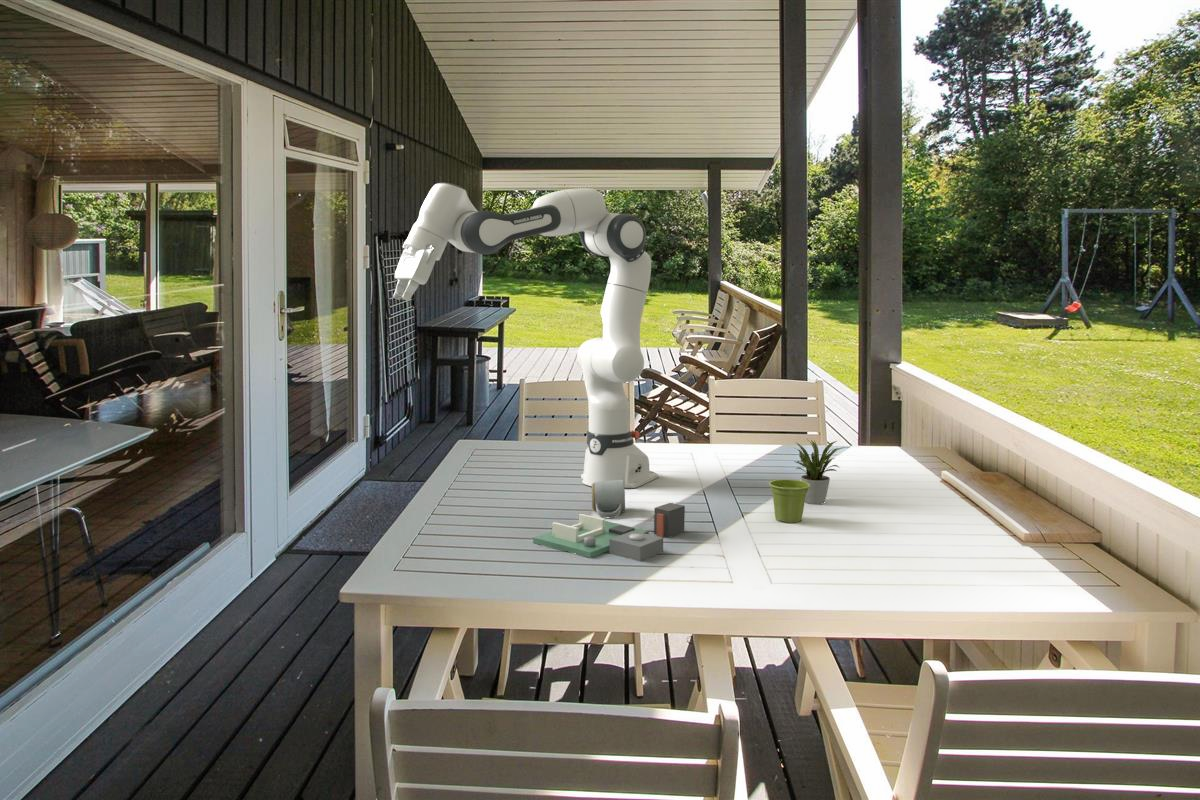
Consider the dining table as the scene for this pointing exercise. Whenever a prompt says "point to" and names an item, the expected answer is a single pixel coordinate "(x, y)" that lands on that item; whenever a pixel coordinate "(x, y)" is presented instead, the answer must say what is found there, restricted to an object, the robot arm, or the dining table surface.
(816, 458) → the house plant
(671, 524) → the plug
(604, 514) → the ceramic mug
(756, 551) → the dining table surface
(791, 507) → the plant pot
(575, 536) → the board
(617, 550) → the gray push button box
